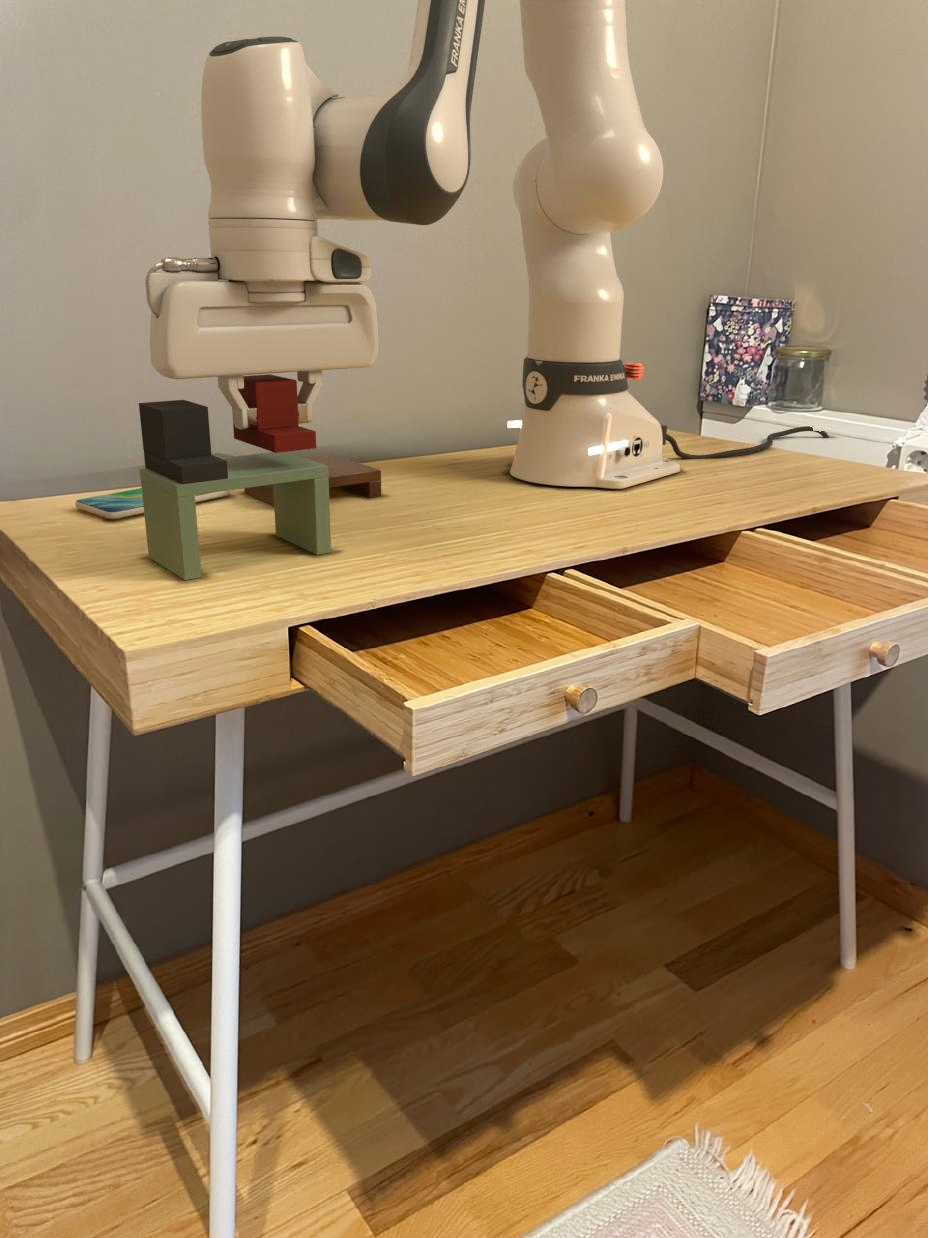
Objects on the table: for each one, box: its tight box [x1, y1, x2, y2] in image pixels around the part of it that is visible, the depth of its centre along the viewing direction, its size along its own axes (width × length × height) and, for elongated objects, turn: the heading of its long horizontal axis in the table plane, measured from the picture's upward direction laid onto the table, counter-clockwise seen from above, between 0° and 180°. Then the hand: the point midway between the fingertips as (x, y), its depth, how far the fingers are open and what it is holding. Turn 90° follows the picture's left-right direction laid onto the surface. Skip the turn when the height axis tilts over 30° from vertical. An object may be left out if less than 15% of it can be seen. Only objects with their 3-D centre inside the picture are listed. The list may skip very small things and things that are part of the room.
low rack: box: [243, 455, 382, 506], centre depth 109 cm, size 12×10×3 cm
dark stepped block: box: [138, 399, 228, 484], centre depth 81 cm, size 4×8×6 cm, turn 38°
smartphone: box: [74, 487, 230, 520], centre depth 104 cm, size 7×1×15 cm
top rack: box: [139, 451, 332, 581], centre depth 86 cm, size 14×8×8 cm, turn 128°
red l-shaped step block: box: [231, 373, 317, 453], centre depth 85 cm, size 4×8×6 cm, turn 38°
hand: (274, 425), depth 86 cm, fingers closed on red l-shaped step block, 4 cm apart
